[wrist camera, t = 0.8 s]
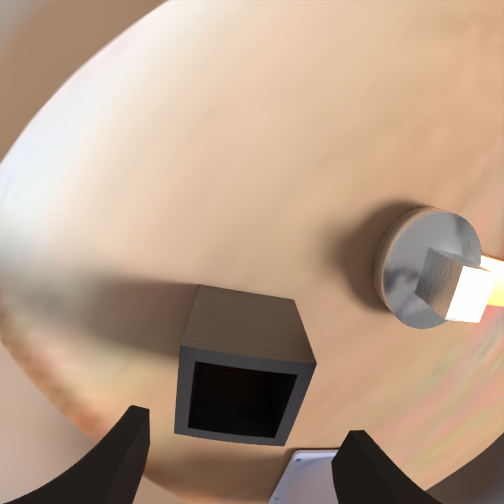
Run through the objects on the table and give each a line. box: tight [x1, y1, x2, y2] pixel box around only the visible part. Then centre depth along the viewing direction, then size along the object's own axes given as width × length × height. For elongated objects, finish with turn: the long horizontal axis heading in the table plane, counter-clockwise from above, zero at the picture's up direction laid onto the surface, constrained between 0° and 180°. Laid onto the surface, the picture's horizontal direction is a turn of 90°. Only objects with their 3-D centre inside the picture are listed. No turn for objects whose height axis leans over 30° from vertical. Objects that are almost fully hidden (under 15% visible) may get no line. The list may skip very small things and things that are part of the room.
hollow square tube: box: [174, 285, 317, 446], centre depth 15 cm, size 5×5×6 cm
